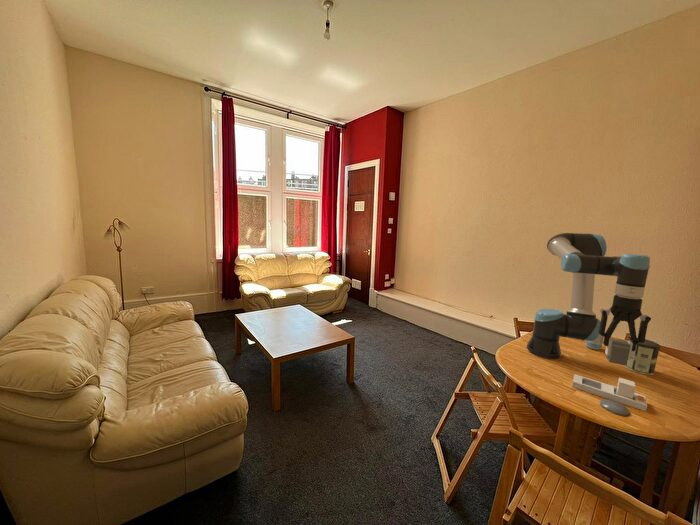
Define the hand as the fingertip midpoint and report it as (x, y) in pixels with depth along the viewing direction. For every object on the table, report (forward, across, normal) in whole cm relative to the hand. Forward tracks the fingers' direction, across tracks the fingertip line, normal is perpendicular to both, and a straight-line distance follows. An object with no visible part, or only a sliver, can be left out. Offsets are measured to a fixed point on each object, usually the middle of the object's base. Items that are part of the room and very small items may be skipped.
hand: (617, 356), depth 106 cm
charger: (+2, 0, 0) cm, 2 cm away
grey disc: (+20, +1, -2) cm, 20 cm away
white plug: (+18, +6, +7) cm, 20 cm away
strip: (+20, +1, +8) cm, 21 cm away
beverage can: (+18, +6, +60) cm, 63 cm away
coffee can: (+19, +20, +43) cm, 52 cm away
